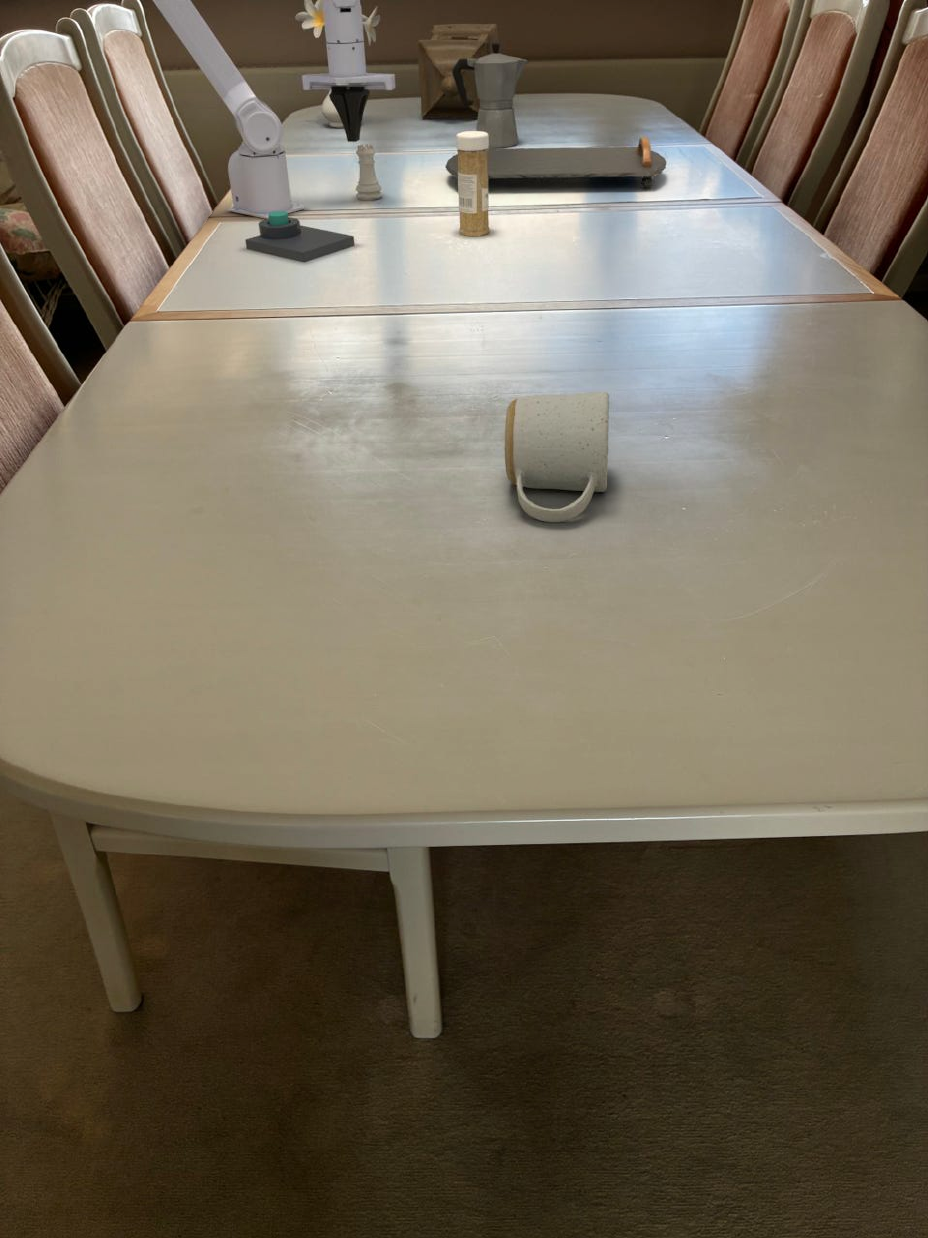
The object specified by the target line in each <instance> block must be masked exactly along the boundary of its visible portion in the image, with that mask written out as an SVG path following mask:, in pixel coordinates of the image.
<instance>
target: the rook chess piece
mask: <svg viewBox="0 0 928 1238" xmlns="http://www.w3.org/2000/svg"><path fill="white" fill-rule="evenodd" d="M355 154H356V155H357V156H358V161H357V163H358V165H359V175H358V176H359V178H358V182H357V185H356V187H355V190H356V192H357V193H356V194H355V196H356V197H357V199H358V200H360V201H376V200H378V199H381V197H382V196H383V193H382V192H381V191H382V186H381V185H380V183H379V180H378V179H377V175H376V170H375V162H376V161H375V160H374V156H375V154H376V150H375V149H374V145H373V144H368V143H365V146H364V144H359V145H357V149H356V151H355Z"/></svg>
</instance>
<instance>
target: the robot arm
mask: <svg viewBox="0 0 928 1238" xmlns="http://www.w3.org/2000/svg"><path fill="white" fill-rule="evenodd" d="M152 2H153V3H154V4H155V6H156V8H157V9H158V11H159V12H160V13H161V14H162V16H163V18H164V19H165V20H166V21H167V24H168V25H169V26H170V27H171V29H172V30H173V32H174V33H175V34H176V36H177V38H178V39H179V40H180V41H181V43H182V44H183V46H184V47H185V48H186V50H187V51H188V53H189V55H190V56H191V57H192V59H193V60H194V62H195V63H196V64H197V66H198V67H199V68H200V70H201V71H202V73H203V74H204V76H205V77H206V79H207V80H208V82H209V83H210V85H211V86H212V87H213V89H214V90H215V91H216V93H217V95H218V96H219V97H220V99H222V101H223V103H224V104H225V106H226V107H227V109H228V110H229V111H230V113H231V114H232V116H233V119H234V124H235V127H236V130H237V132H238V134H239V135H240V137H241V138H242V141H241V144H240V145H239V146H238V148H237V150H235V151H234V152H233V153H232V154H231V156H230V158H229V160H228V164H227V172H228V179H229V186H230V193H231V199H232V205H233V207H230V208H229V212H232V213H236V214H241V215H246V216H250V217H251V216H252V217H256V218H261V219H264V220H266V219H269V218H268V214H269V213H271V212H275V211H284V212H287V213H288V214H291V213H294V212H298V211H302V210H304V209H305V207H304V205H300V204H295V203H292V197H291V196H292V195H291V188H290V180H289V172H288V163H287V155H286V147H285V146H284V145H282V144H281V143H282V140H283V136H284V135H283V134H284V129H283V128H284V127H283V124H282V122H281V120H280V118H279V117H278V115H277V114H276V113H275V112H273V109H271V108H270V106H269V105H268V104H266V103H265V102H264V101H262V100H260V99H259V98H258V97H257V96H256V94H255V92H254V91H253V90H252V89H251V87H250V85H249V84H248V83H247V81H246V80H245V78H244V77H243V75H242V74H241V72H240V71H239V70H238V68H237V66H236V65H235V64H234V62H233V61H232V59H231V58H230V56H229V55H228V54H227V53H228V52H226V50H225V49H224V48H223V46H222V44H221V43H220V42H219V39H217V38H216V36H215V34H214V33H213V31H212V30H211V28H210V27H209V26H208V24H207V23H206V21H205V20H204V17H203V16H202V15H201V14H200V12H199V11H198V9H197V8H196V6H195V5H194V4H193V1H192V0H152ZM323 3H324V5H323V14H324V33H325V45H326V54H327V65H328V73H306V74H303V75H301V80H302V89H303V91H310V90H330V89H331V93H330V94H329V93H328V94H329V97H330V100H331V101H332V103H333V105H334V106H335V108H336V110H337V112H338V114H339V116H340V119H341V121H342V124H343V127H344V128H343V129H344V133H345V136H346V140H347V142H348V143H351V142H352V143H356V142H358V141H360V140H361V129H362V128H361V127H362V121H363V116H364V112H365V108H366V105H367V102H368V99H369V98H370V93H371V91H370V90H385V91H392V90H394V89H396V75H395V73H375V72H367V65H366V52H365V51H366V50H365V36H364V30H363V23H362V15H363V13H362V10H363V9H362V5H360V4H361V0H323ZM337 83H338V84H347V83H348V84H349V85H336V84H337Z"/></svg>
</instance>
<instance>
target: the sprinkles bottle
mask: <svg viewBox="0 0 928 1238" xmlns="http://www.w3.org/2000/svg"><path fill="white" fill-rule="evenodd" d="M455 136H456V137H455V146H456V149H457V154H458V178H457V189H458V191H457V192H458V193H457V194H458V210H459V230H458V231H459V233H460V235H462V236H465V237H482V236H486V235H487V234H489V233H490V227H489V226H490V225H489V221H490V220H489V208H490V206H489V178H488V167H487V165H488V163H487V151H488V149H489V148H488V147H489V136H488V133H486V132H482V131H476V130H467V131H466V130H465V131H461V132H458V133H457V134H456V135H455Z"/></svg>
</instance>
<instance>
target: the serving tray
mask: <svg viewBox="0 0 928 1238" xmlns="http://www.w3.org/2000/svg"><path fill="white" fill-rule="evenodd" d="M487 149H488V151H487V163H488V165H487V167H488V179H535V178H536V179H540V178H541V179H542V178H543V179H545V178H547V179H548V178H620V177H621V178H623V177H624V178H626V177H629V178H630V177H632V178H633V177H641V179H640V186H641V187H642V190H651V188H652V187H653V185H654V178H653V177H655V176H657V175H659V174H662V172H663V171H664V170H665V169H666V168H667V167H666V166H667V160H666V158H665V157H664V156H663V155H661V154H660V153H659V152H657V151H654V150H651V141H650V139H649V137H647V136H641V137H639V140H638V145H637V146H596V147H595V146H594V147H593V146H589V147H532V148H531V147H530V148H528V147H527V148H525V147H518V148H516V147H515V148H487ZM444 168H445V170H446V171H447V172H448V173H449V174H450V175H452V176H454V177H455V178H457V179H458V153H457V154H455V155H453V156H452V157H450V158H449V159H447V162H446V164H445V167H444Z"/></svg>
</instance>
